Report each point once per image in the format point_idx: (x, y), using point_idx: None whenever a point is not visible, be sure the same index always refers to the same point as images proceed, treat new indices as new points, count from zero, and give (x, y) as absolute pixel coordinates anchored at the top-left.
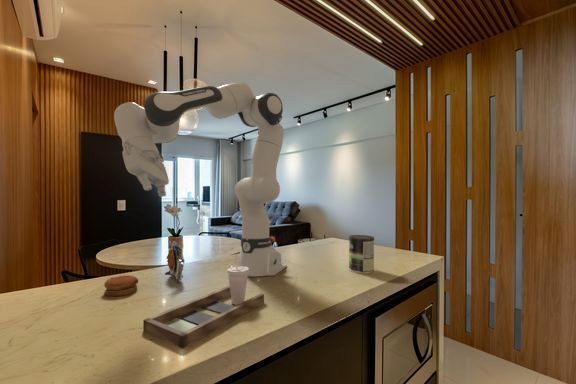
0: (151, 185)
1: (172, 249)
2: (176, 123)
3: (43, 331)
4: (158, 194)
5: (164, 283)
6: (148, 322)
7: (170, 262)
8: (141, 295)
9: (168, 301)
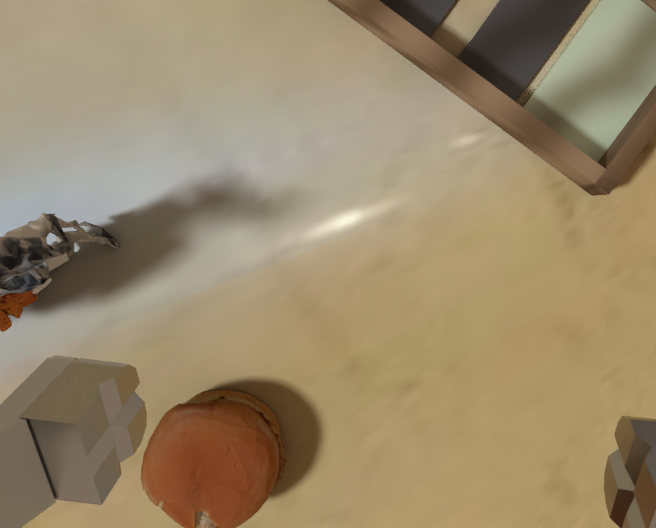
0: (645, 457)
1: None
2: None
3: (563, 498)
4: (133, 454)
5: (114, 304)
6: (625, 170)
7: (12, 310)
8: (272, 341)
9: (346, 203)
